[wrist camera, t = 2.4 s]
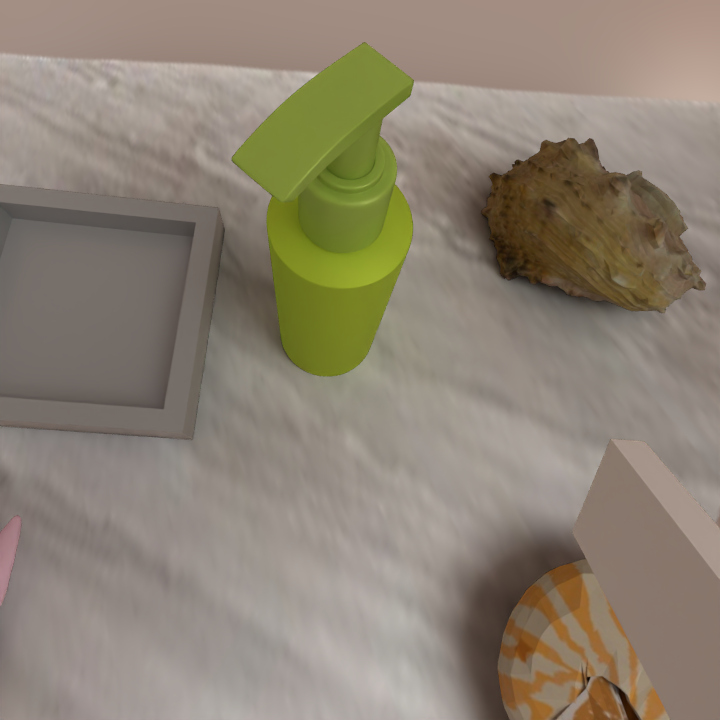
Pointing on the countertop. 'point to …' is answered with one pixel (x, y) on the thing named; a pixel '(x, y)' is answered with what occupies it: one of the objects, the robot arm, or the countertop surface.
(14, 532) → the rabbit figure
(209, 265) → the holder tray
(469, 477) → the countertop surface
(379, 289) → the soap dispenser
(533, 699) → the nautilus
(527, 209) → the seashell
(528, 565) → the countertop surface
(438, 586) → the countertop surface
